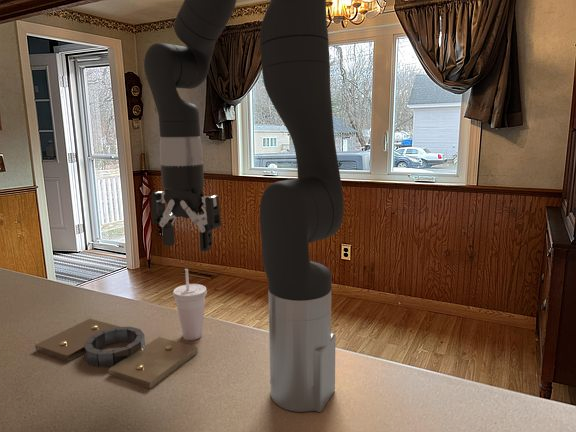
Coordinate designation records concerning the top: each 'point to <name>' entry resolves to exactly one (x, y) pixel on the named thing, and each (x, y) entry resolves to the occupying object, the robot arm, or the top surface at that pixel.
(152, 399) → the top surface
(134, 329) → the hinge base
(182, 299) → the smoothie
